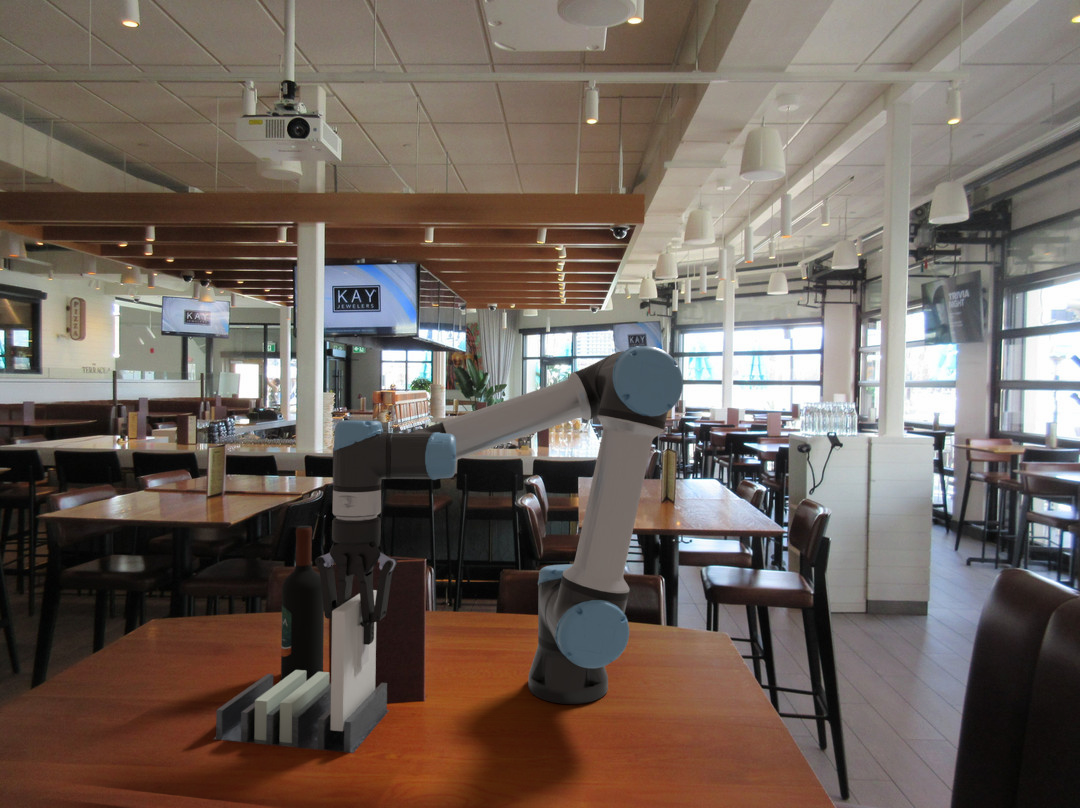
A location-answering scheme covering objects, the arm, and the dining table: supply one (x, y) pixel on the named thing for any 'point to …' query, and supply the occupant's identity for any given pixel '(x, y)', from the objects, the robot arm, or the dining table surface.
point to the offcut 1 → (275, 700)
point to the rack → (301, 720)
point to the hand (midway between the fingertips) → (354, 662)
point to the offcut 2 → (299, 702)
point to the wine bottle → (302, 613)
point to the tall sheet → (349, 663)
